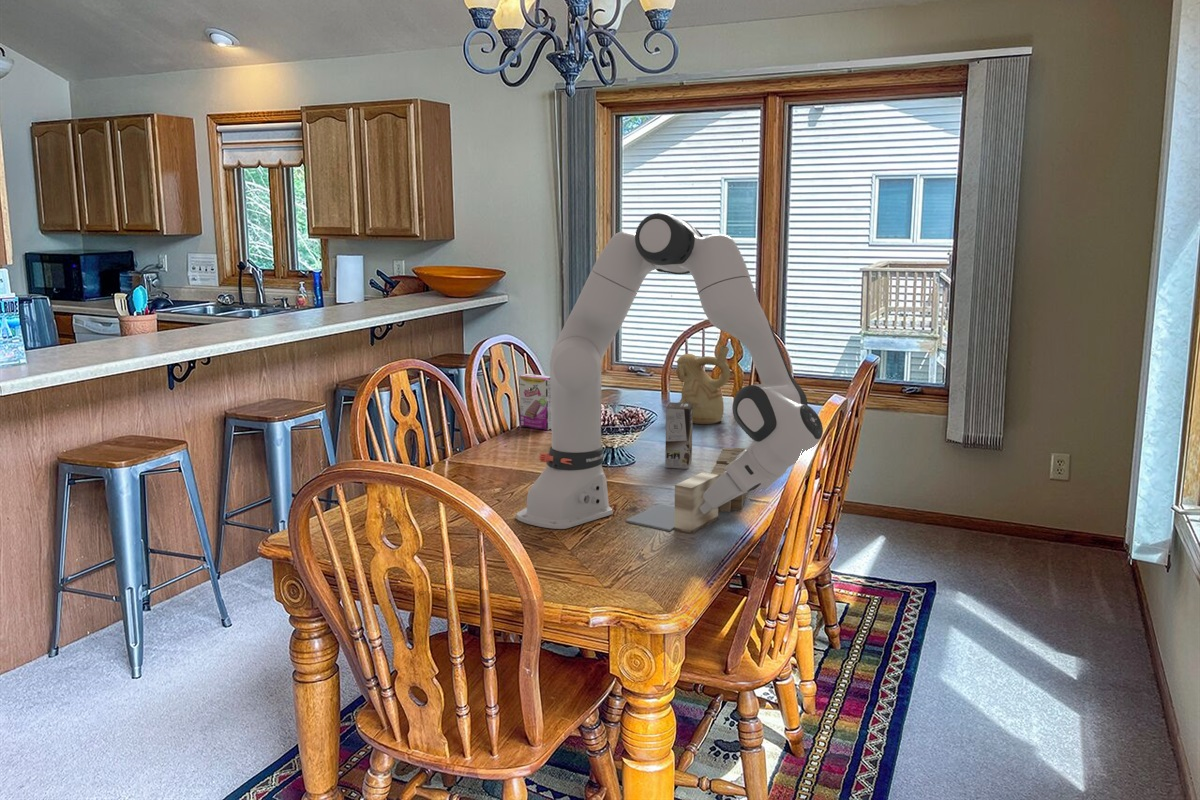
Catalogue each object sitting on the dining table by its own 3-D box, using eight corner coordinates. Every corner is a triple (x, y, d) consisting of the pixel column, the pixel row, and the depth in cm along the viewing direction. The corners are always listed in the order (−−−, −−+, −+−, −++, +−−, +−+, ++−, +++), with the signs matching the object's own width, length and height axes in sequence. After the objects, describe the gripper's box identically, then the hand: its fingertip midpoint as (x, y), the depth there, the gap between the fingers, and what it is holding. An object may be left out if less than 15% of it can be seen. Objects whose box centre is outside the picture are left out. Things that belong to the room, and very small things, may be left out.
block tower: (741, 517, 206) (753, 478, 233) (742, 481, 204) (754, 446, 231) (705, 514, 208) (722, 476, 235) (706, 478, 206) (722, 444, 233)
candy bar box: (518, 426, 291) (517, 375, 288) (528, 423, 296) (527, 373, 292) (547, 431, 286) (546, 378, 282) (557, 428, 290) (556, 376, 287)
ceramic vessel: (688, 412, 312) (689, 339, 307) (740, 420, 300) (742, 343, 295) (661, 421, 298) (662, 344, 293) (715, 429, 287) (716, 349, 282)
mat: (669, 531, 193) (669, 529, 193) (625, 521, 199) (625, 520, 199) (702, 513, 205) (702, 512, 204) (659, 505, 211) (659, 503, 211)
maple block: (691, 534, 192) (691, 488, 190) (674, 530, 194) (674, 484, 192) (718, 519, 201) (719, 474, 199) (701, 515, 203) (702, 472, 202)
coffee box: (689, 469, 241) (689, 408, 238) (664, 468, 242) (665, 407, 239) (692, 460, 250) (693, 402, 247) (668, 459, 251) (669, 401, 248)
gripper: (770, 444, 196) (727, 481, 203) (725, 465, 180) (680, 504, 187) (788, 468, 194) (745, 504, 202) (745, 491, 178) (699, 529, 185)
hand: (713, 504), depth 194 cm, fingers open, 8 cm apart
